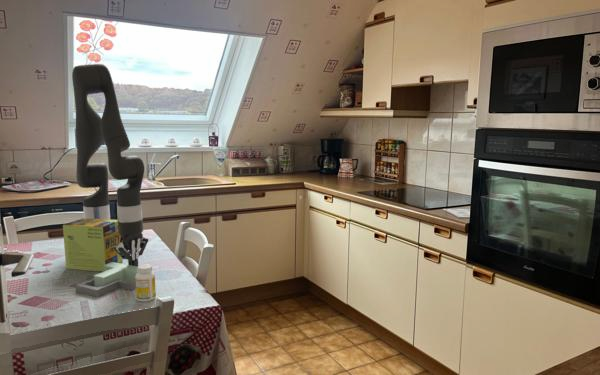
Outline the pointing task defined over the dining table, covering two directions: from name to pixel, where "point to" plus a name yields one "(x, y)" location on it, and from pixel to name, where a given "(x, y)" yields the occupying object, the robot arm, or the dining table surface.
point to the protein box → (91, 243)
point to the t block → (115, 273)
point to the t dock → (89, 285)
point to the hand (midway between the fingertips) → (133, 270)
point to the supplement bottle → (145, 283)
